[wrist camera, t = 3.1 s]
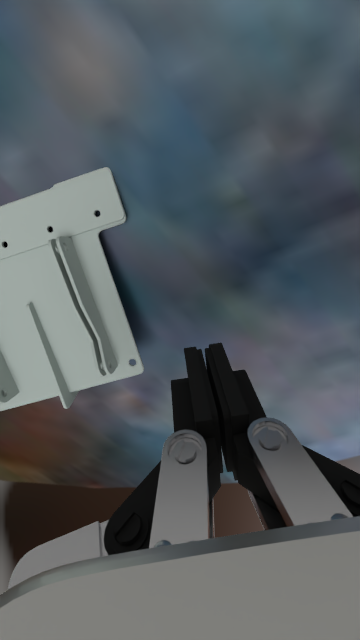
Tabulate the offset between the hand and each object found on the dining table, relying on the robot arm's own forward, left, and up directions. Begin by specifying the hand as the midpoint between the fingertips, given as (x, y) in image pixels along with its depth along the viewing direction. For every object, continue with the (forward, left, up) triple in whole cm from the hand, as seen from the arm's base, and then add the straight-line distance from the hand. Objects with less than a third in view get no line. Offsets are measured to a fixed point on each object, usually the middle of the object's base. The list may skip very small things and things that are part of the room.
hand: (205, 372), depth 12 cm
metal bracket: (+10, -1, -9) cm, 14 cm away
